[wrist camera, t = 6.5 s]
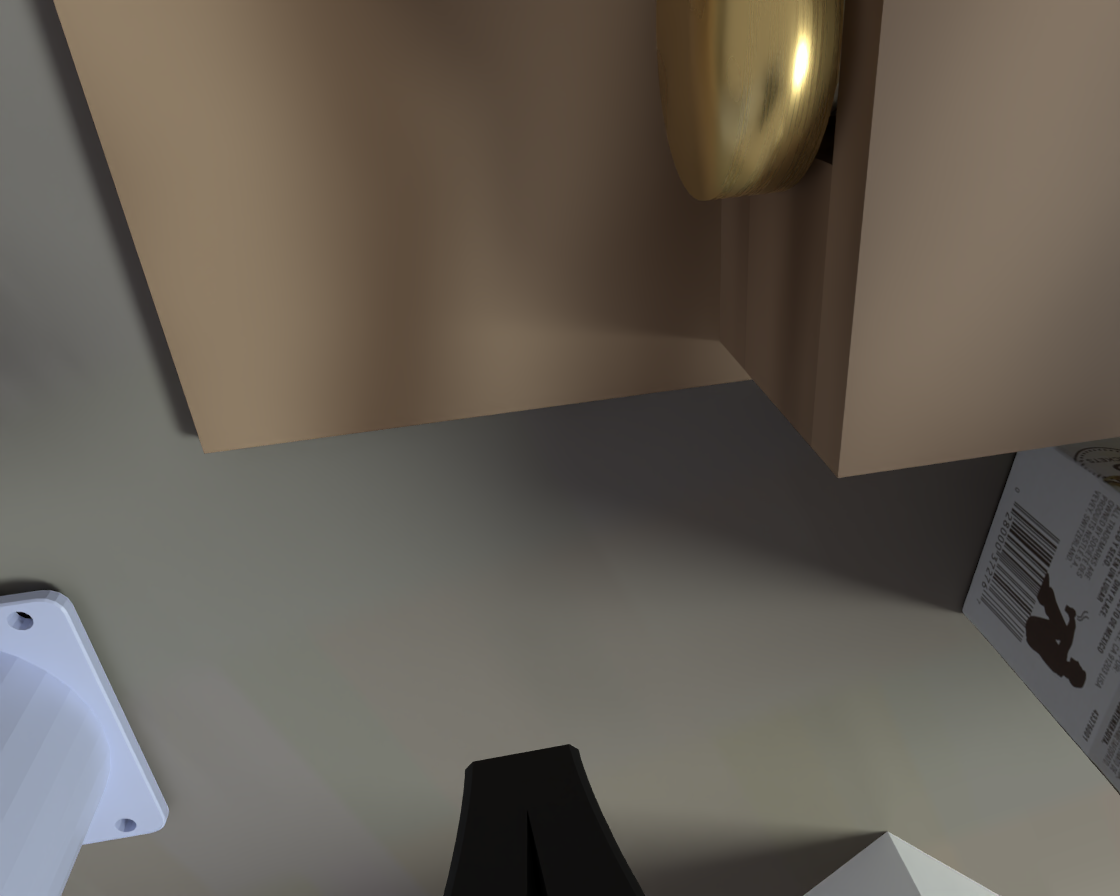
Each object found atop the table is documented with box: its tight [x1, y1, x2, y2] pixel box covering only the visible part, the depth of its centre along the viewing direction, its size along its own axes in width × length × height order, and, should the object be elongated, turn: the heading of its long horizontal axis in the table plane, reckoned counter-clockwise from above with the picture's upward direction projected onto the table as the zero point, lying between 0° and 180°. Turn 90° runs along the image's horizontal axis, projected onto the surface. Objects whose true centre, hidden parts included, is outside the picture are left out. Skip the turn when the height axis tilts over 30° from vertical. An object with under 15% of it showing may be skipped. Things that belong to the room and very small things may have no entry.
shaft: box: [656, 0, 845, 201], centre depth 12 cm, size 11×4×4 cm, turn 94°
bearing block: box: [53, 0, 1120, 478], centre depth 12 cm, size 22×14×6 cm, turn 94°
